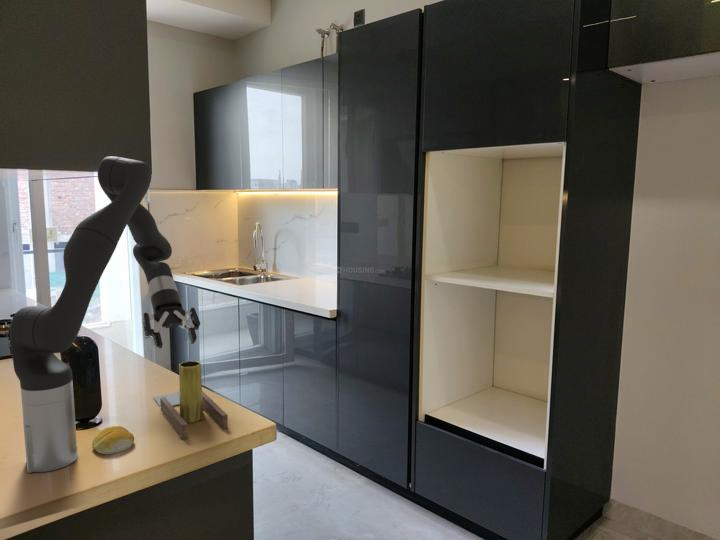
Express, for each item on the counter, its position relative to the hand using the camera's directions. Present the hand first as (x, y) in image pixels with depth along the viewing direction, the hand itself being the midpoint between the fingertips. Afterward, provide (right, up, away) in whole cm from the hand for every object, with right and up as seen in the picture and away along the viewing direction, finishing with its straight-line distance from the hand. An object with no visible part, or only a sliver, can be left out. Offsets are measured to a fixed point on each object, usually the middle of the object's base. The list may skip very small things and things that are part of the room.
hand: (177, 344), depth 138 cm
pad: (-2, -16, +6) cm, 17 cm away
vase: (+6, -18, -6) cm, 20 cm away
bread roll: (-7, -20, -21) cm, 30 cm away
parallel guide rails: (+6, -18, -7) cm, 20 cm away
